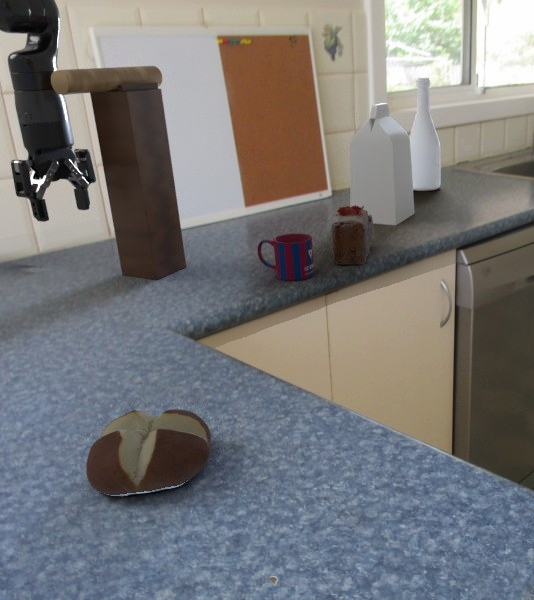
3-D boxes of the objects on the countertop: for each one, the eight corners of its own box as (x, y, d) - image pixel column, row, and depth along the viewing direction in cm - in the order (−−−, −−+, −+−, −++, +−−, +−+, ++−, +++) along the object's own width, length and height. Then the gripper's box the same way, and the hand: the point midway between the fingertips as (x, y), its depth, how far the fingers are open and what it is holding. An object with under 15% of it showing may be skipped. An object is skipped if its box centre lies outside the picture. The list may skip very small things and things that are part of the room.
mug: (304, 282, 115) (301, 244, 112) (253, 277, 118) (249, 240, 115) (320, 270, 121) (317, 234, 118) (271, 266, 124) (267, 231, 121)
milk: (395, 225, 151) (393, 106, 142) (350, 221, 155) (345, 106, 146) (414, 213, 161) (413, 102, 152) (371, 210, 165) (367, 101, 156)
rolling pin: (71, 91, 100) (62, 67, 99) (56, 97, 101) (47, 73, 100) (165, 84, 117) (158, 63, 116) (150, 89, 118) (143, 68, 118)
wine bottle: (447, 187, 190) (447, 77, 180) (426, 192, 184) (425, 79, 173) (421, 183, 196) (420, 77, 186) (400, 188, 190) (398, 78, 179)
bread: (72, 504, 59) (61, 457, 58) (122, 435, 70) (114, 393, 68) (197, 502, 59) (189, 454, 57) (227, 433, 70) (222, 391, 68)
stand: (156, 280, 118) (125, 85, 106) (122, 275, 121) (88, 84, 109) (186, 267, 124) (160, 82, 113) (153, 262, 127) (125, 82, 116)
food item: (335, 245, 136) (332, 198, 132) (374, 244, 136) (372, 197, 133) (330, 266, 123) (327, 214, 120) (373, 265, 123) (371, 213, 120)
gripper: (63, 114, 116) (80, 205, 122) (-12, 122, 104) (11, 223, 110) (95, 114, 114) (111, 207, 119) (22, 123, 101) (44, 226, 107)
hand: (63, 215), depth 115 cm, fingers open, 8 cm apart
